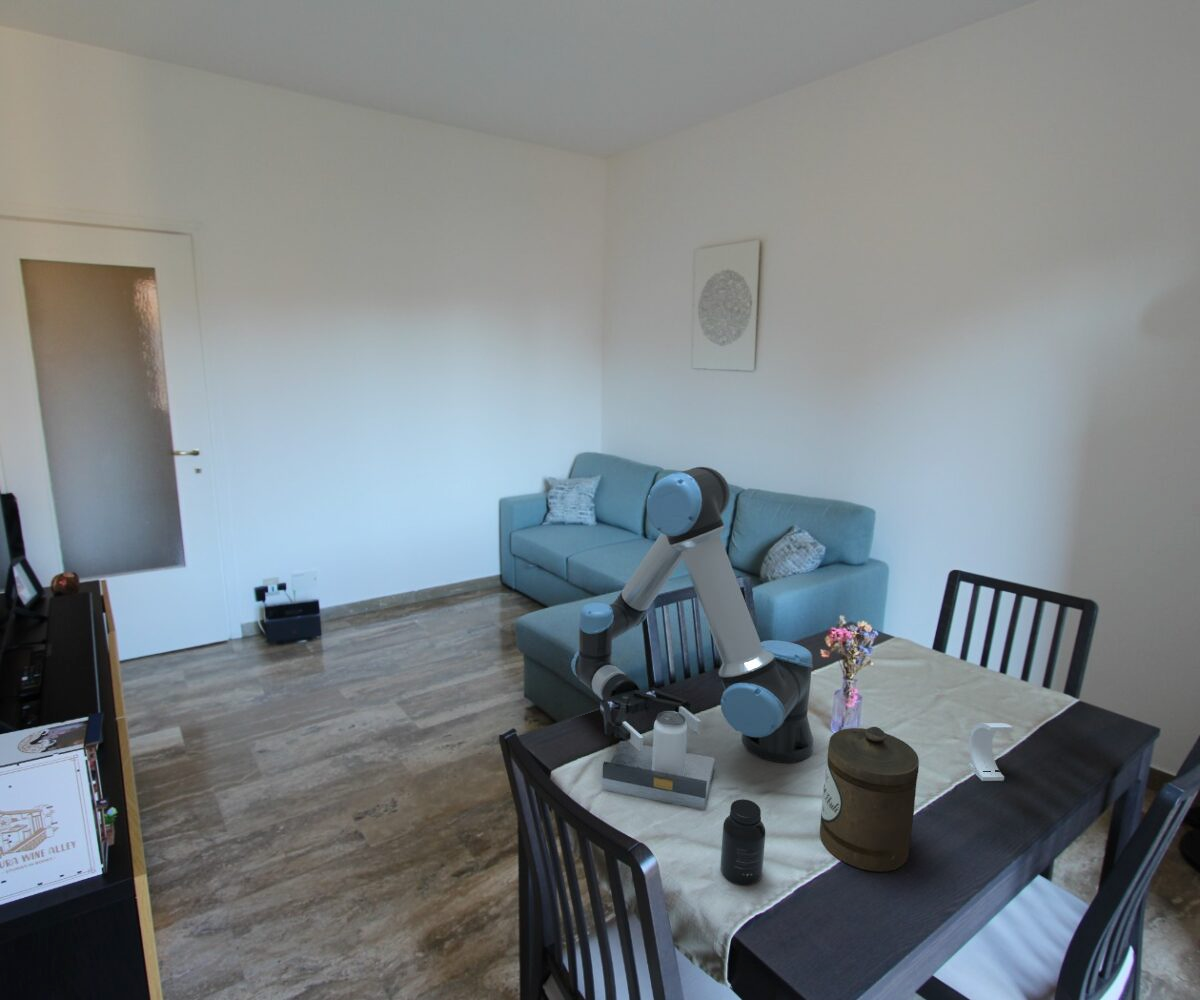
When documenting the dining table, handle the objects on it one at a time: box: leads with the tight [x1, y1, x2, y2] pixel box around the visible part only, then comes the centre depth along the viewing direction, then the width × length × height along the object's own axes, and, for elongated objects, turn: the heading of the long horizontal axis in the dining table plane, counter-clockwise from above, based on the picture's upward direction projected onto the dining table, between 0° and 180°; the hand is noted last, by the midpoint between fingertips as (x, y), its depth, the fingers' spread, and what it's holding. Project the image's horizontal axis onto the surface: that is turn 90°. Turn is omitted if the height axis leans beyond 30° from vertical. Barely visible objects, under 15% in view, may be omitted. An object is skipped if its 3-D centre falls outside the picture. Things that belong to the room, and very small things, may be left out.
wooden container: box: [819, 726, 920, 873], centre depth 122 cm, size 15×15×22 cm
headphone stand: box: [967, 722, 1013, 782], centre depth 145 cm, size 5×6×12 cm
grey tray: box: [601, 740, 716, 811], centre depth 140 cm, size 20×14×6 cm
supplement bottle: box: [720, 798, 766, 886], centre depth 115 cm, size 7×7×12 cm
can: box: [652, 711, 688, 777], centre depth 137 cm, size 6×6×12 cm
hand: (671, 735), depth 136 cm, fingers open, 13 cm apart
